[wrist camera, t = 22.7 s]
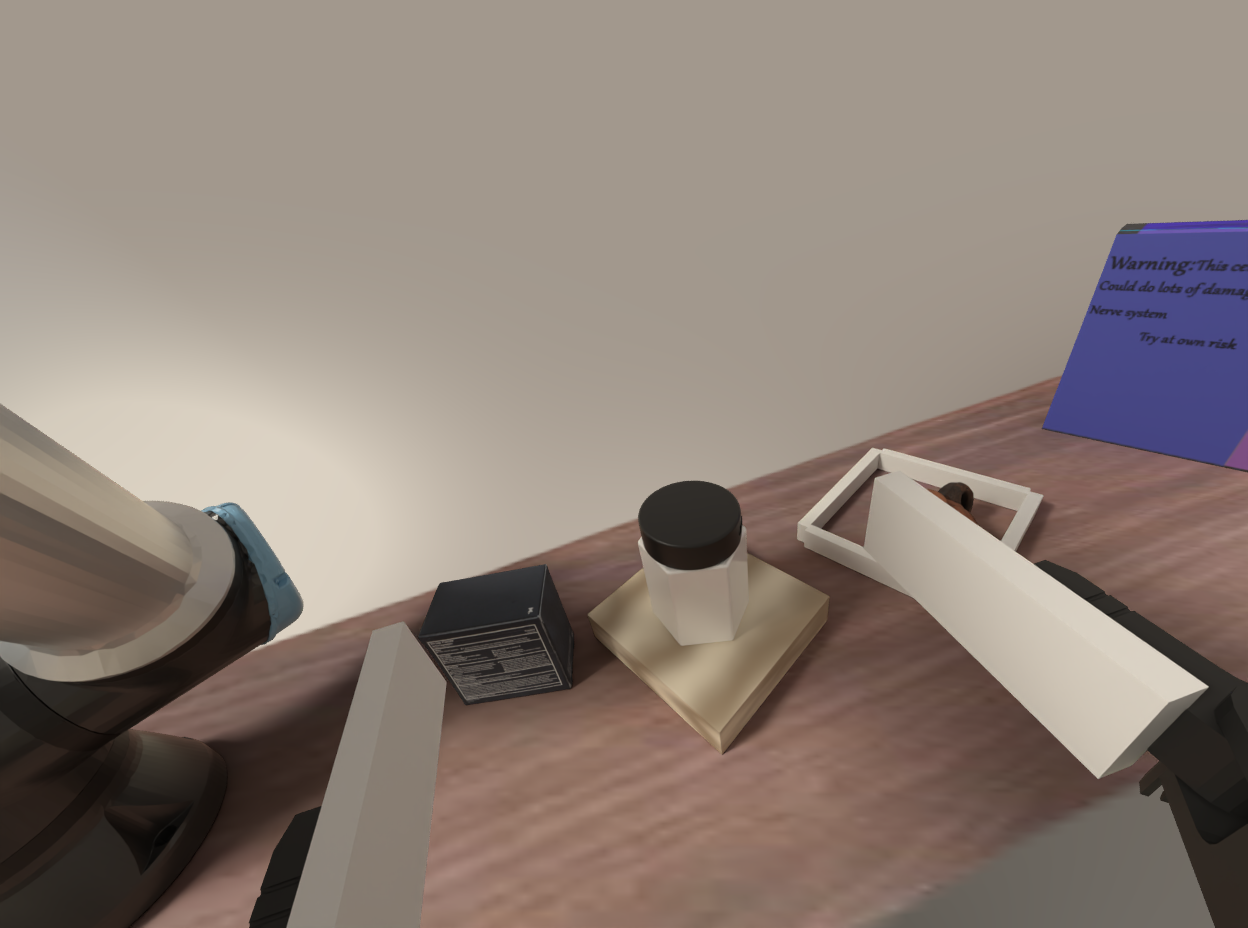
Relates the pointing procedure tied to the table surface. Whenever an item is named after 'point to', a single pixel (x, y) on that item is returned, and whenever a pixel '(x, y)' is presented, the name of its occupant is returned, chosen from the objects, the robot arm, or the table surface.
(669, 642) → the maple base
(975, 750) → the table surface
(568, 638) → the small box
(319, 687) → the table surface
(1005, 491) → the grey tray rim
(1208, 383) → the cereal box
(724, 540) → the jar
